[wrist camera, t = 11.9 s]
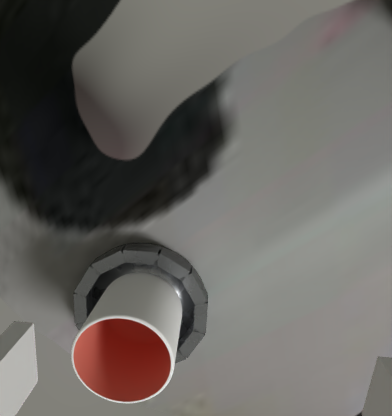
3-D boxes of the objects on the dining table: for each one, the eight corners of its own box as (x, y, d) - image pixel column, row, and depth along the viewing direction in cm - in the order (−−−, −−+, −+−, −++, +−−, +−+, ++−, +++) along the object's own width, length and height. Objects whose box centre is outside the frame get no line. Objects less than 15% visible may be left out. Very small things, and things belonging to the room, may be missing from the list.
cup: (110, 339, 42) (79, 405, 32) (99, 269, 39) (61, 317, 29) (186, 337, 41) (178, 403, 31) (179, 266, 38) (169, 313, 29)
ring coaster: (80, 239, 39) (71, 246, 36) (211, 247, 38) (210, 256, 36) (85, 350, 43) (77, 364, 40) (203, 359, 42) (202, 374, 40)
